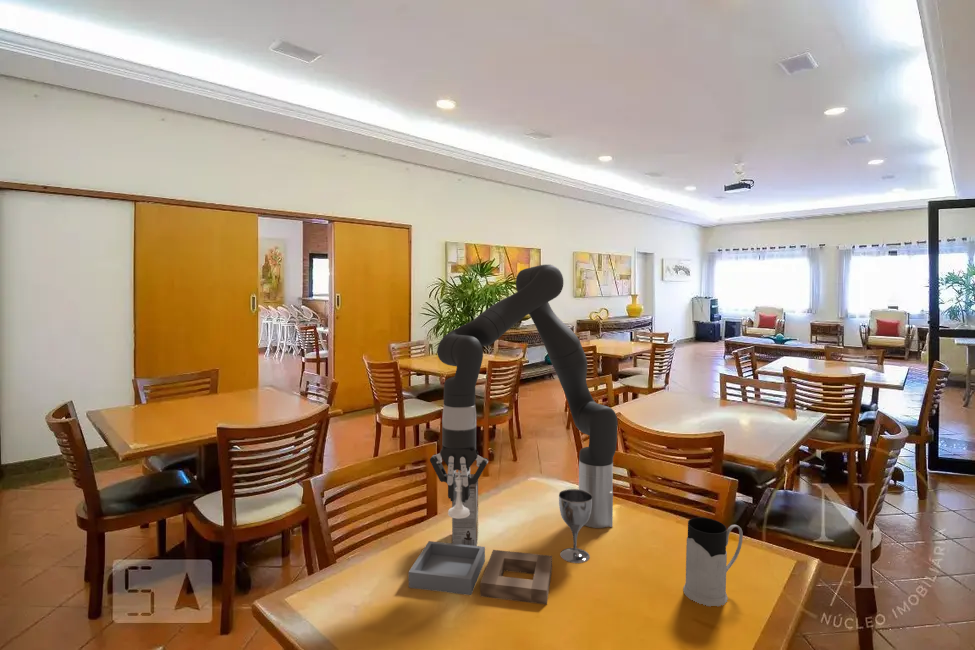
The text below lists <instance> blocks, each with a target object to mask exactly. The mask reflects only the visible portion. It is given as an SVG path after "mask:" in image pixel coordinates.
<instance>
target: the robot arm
mask: <svg viewBox="0 0 975 650" xmlns="http://www.w3.org/2000/svg"><path fill="white" fill-rule="evenodd" d="M515 286H516V290H517V291H516V292H515V293H512V294H511V295H509V296H508V297H506V298H503V299H502V300H500V301H497V302H496V303H494V304H492V305H491V306H489V307H488V308H486V309H485V310H484V311H483V312H481V313H480V314H479V315H478V316H476V317H475V318H473V320H471V321H469V322H467V323H464V324H462V325H461V326H459V327H457V328H455V329H453V330H451V331H449V332H448V333H447V334H445V335H444V336H443V337H442V338H441V340H440V341H439V343H438V344H437V348H436V349H437V350H436V353H437V357H438V359H439V360H440V362H442V363H443V364H444V365H447V366H452V367H456V370H455V373H454V376H451V377H449V378H447V379H446V380H445V381H444V384H443V409H442V418H441V423H442V424H441V425H442V430H441V431H442V432H441V433H442V435H441V436H442V442H441V443H442V445H441V449H440V451H439V453H437V454H433V455H432V456H431V457H429V458H430V459H429V462H430V464H431V465H432V467H433V470H434V471H435V474H436V476H437V478H438V480H439V482H441V483H446V484H447V498H448V499H450V502H452V501H453V502H454V501H455V499H456V491H455V490H454V489H455V488H456V482H455V473H456V472H457V471H458V470H460V473H461V474H462V479H463V486H462V502H464V503H466V501H467V500H468V499H469V497H470V485H471V484H476V482H477V480H478V481H479V479H480V476H481V475H482V473H483V472H484V470H485V468H486V467H487V465H488V463H489V458H488V457H483V456H480V455H479V451H478V450H477V409H476V385H477V382H478V379H479V374H480V371H481V369H482V368H481V367H482V364H483V363H482V362H483V357H484V351H483V350H484V349H483V347H488V346H491V345H492V344H494V343H495V342H496V341H497V340H499V338H501V337H502V336H503V335H504V334H506V332H508V330H511V328H512V327H513V326H515V325H516V324H517V323H518V322H520V321H521V320H523V319H524V318H525V317H526V316H528V315H529V317H530V318H531V319H532V322H533V324H534V326H535V328H536V330H537V332H538V334H539V337H540V338H541V340H542V341H541V342H542V343H543V346H544V347H545V351H546V352H547V355H548V357H549V360H550V363H551V365H552V368H553V369H554V371H555V373H556V376H557V378H558V381H559V384H560V386H561V388H562V390H563V392H564V395H565V397H566V400H567V404H568V407H569V411H570V413H571V416H572V420H573V422H574V426H575V427H576V428H577V430H578V431H579V432H581V433H583V434H585V435H587V436H589V437H588V438H589V439H588V446H584V447H581V449H580V450H579V456H578V458H579V459H578V469H579V470H578V471H579V472H578V490H583V491H586V492H588V493H590V494H591V495H592V509H591V514H590V518H589V520H588V522H587V523H586V524H585V525H584V526H586V527H589V528H594V529H603V528H608V527H609V528H610V527H611V528H612V527H613V524H614V523H613V521H614V520H613V519H614V516H613V515H614V514H613V512H614V511H613V509H614V508H613V507H614V491H613V487H614V486H613V485H614V484H613V483H614V482H613V478H614V476H613V475H614V473H613V472H614V456H615V453H616V450H617V440H618V417H617V413H616V411H615V410H614V409H613V408H611V407H609V406H608V405H603V404H601V403H597V402H596V401H595V400H594V398H593V396H592V395H591V392H590V390H589V386H588V384H587V375H588V374H587V373H588V358H587V356H586V353H585V351H584V348H583V346H582V343H581V341H580V339H579V337H578V336H577V335H576V333H575V332H574V331H573V330H572V329H571V328H570V326H568V325H567V324H566V323H565V322H563V321H562V320H561V319H560V318H559V317H558V316H557V314H556V313H555V312H554V310H553V309H552V307H551V305H550V303H549V302H550V301H552V300H554V299H555V298H558V296H560V294H561V293H562V291H563V289H564V288H563V287H564V276H563V274H562V272H561V270H560V269H559V268H558V267H557V266H555V265H553V264H541V265H540V264H539V265H537V266H531V267H528V268H524V269H522V270H519V272H518V273H517V275H516V277H515ZM475 461H476V467H478V468H477V470H476V471H475V473H473V474H474V476H473V477H470V474H471V466H472V465H473V464H474V463H475ZM442 462H444V463H445V465H446V467H447V471H446V469H445V467H444V465H443V464H442Z"/></svg>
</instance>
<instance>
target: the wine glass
mask: <svg viewBox="0 0 975 650" xmlns="http://www.w3.org/2000/svg"><path fill="white" fill-rule="evenodd" d="M558 506H559V507H558V508H559V512H560V516H561V519H562V520H563V522H564V523H565V524H566V525H567V526H568V528H569V529H570V531H571V534H572V542H573V547H568V548H565V549H562V550H561V551H560V554H559V555H560V557H561V559H563V560H564V561H566V562H568V563H573V564H581V563H585V562H588V561H590V558H591V555H590V554H589V552H588V551H586V550H584V549H582V548H578V547H577V543H578V534H579V532H580V530H582V528H583V527H584V526H585V524H586V523H587V522H588V520H589V518H590V514H591V509H592V495H591V494H590V493H588V492H586V491H583V490H579V488H578V489H577V488H571V489H570V488H569V489H563V490H561V491H560V492H559V493H558Z"/></svg>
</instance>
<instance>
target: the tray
mask: <svg viewBox="0 0 975 650" xmlns="http://www.w3.org/2000/svg"><path fill="white" fill-rule="evenodd" d="M485 562H486V546H481V545H477V546H472V545H462V544H453V543H451V542H441V541H433V540H429V541H428V542H427V543H426V545H425V546H424V548H423V550H422V551H421V552H420V554H419V556H418V557H417V559H416V560H415V561H414V563H413V564H412V565H411V568H410V569H409V571H408V588H410V589H419V590H425V591H433V592H443V593H449V594H450V593H452V594H458V595H459V594H460V595H467V596H472V594H473V592H474V589H475V587H476V584H477V582H478V579H479V578H480V577H479V576H480V574H481V571H483V566H484V564H485Z"/></svg>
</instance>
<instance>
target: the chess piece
mask: <svg viewBox="0 0 975 650" xmlns="http://www.w3.org/2000/svg"><path fill="white" fill-rule="evenodd" d="M455 475H458V477H457V478H455V482H456V486H457V487H456V488H455V489H454V490H455V491H457V497H456V504H455V506H454V507H452V506H451V507H450V508H449V509H448V511H447V515H448V517H450V518H451V519H452V518H456V519H461V518H466V517H468V516H469V515H470V510H469V509H468V508H466V507H464V506H463V504H462V495H461V491H462V487H461V486H462V483H463V479H462V477H460V475H462V474H461V470H457V471H456V473H455Z"/></svg>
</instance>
